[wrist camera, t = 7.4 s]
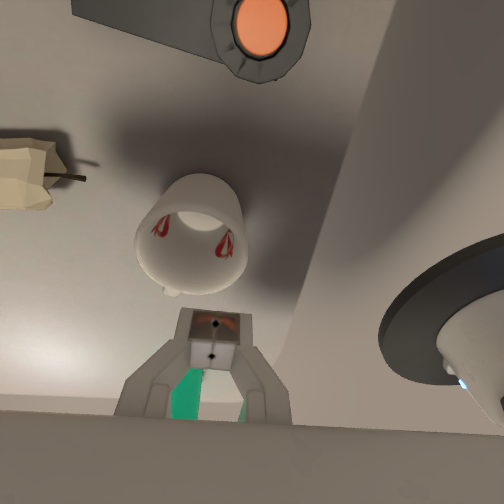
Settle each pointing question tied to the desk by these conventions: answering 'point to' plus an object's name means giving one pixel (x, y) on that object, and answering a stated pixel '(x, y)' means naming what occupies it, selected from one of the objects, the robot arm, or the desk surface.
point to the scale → (204, 31)
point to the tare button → (261, 25)
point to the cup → (194, 237)
